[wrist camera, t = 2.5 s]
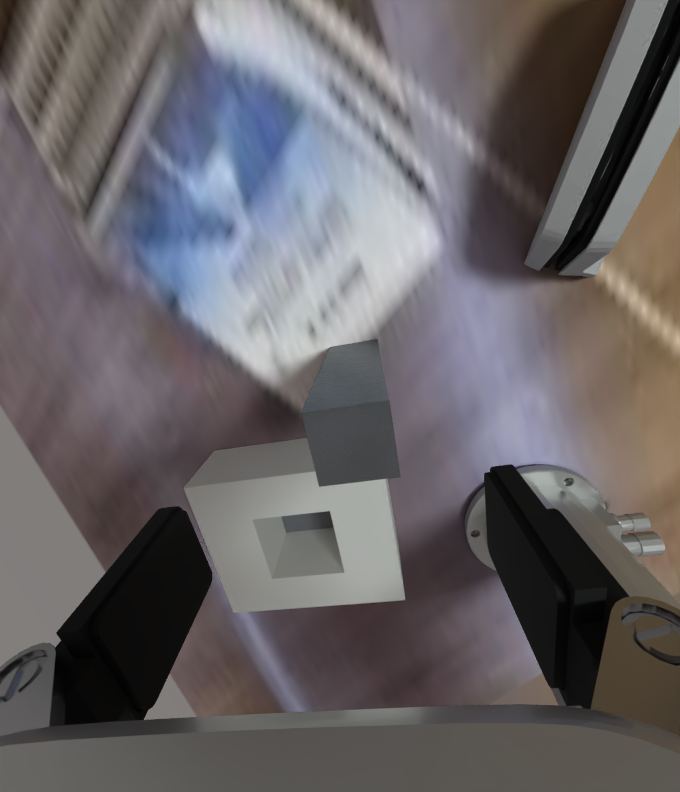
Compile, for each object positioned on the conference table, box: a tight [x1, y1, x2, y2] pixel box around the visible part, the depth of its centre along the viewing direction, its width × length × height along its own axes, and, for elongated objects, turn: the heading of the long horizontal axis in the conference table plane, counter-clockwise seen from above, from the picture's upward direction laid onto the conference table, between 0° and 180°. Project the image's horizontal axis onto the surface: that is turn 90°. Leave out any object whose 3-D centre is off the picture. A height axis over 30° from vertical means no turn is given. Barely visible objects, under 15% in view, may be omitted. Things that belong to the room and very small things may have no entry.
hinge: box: [524, 0, 680, 277], centre depth 19 cm, size 17×5×10 cm, turn 167°
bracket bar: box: [301, 339, 400, 487], centre depth 22 cm, size 4×4×14 cm
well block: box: [184, 438, 405, 613], centre depth 31 cm, size 16×14×6 cm
